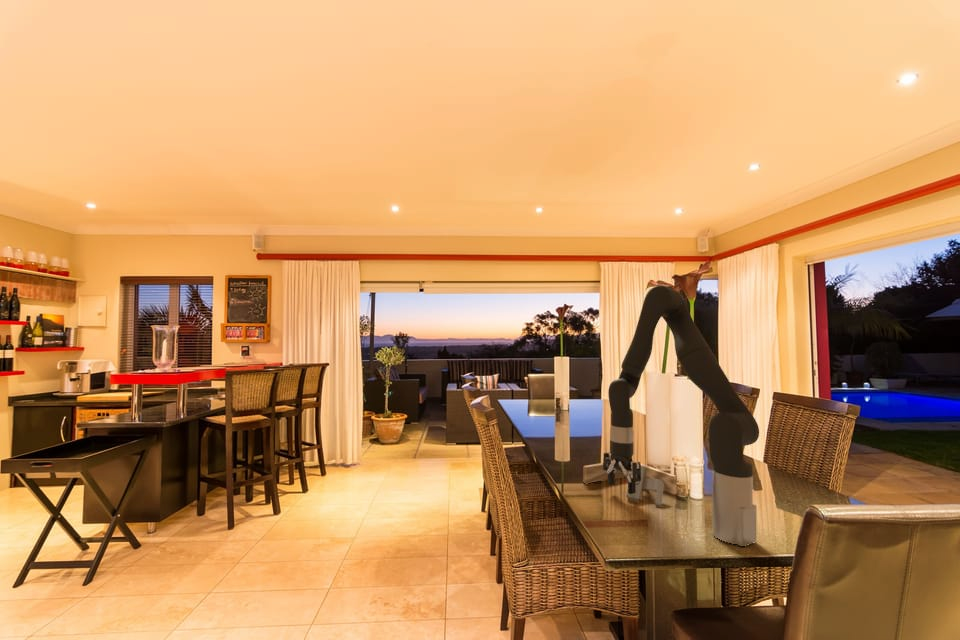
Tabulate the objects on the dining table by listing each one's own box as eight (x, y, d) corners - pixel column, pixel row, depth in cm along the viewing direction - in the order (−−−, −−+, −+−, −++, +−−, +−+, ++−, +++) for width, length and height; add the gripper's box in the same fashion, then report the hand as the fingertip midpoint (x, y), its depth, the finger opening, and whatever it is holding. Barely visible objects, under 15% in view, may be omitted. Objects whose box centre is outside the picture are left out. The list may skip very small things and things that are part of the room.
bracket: (666, 491, 149) (665, 469, 145) (662, 526, 138) (661, 503, 134) (634, 485, 154) (632, 464, 150) (628, 518, 143) (626, 496, 139)
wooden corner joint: (676, 493, 147) (676, 475, 147) (629, 504, 137) (630, 485, 137) (623, 473, 168) (623, 457, 168) (579, 481, 157) (579, 464, 158)
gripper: (647, 443, 139) (646, 494, 138) (613, 433, 151) (613, 480, 151) (630, 445, 135) (629, 498, 135) (597, 435, 148) (597, 484, 147)
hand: (621, 489), depth 143 cm, fingers open, 8 cm apart
